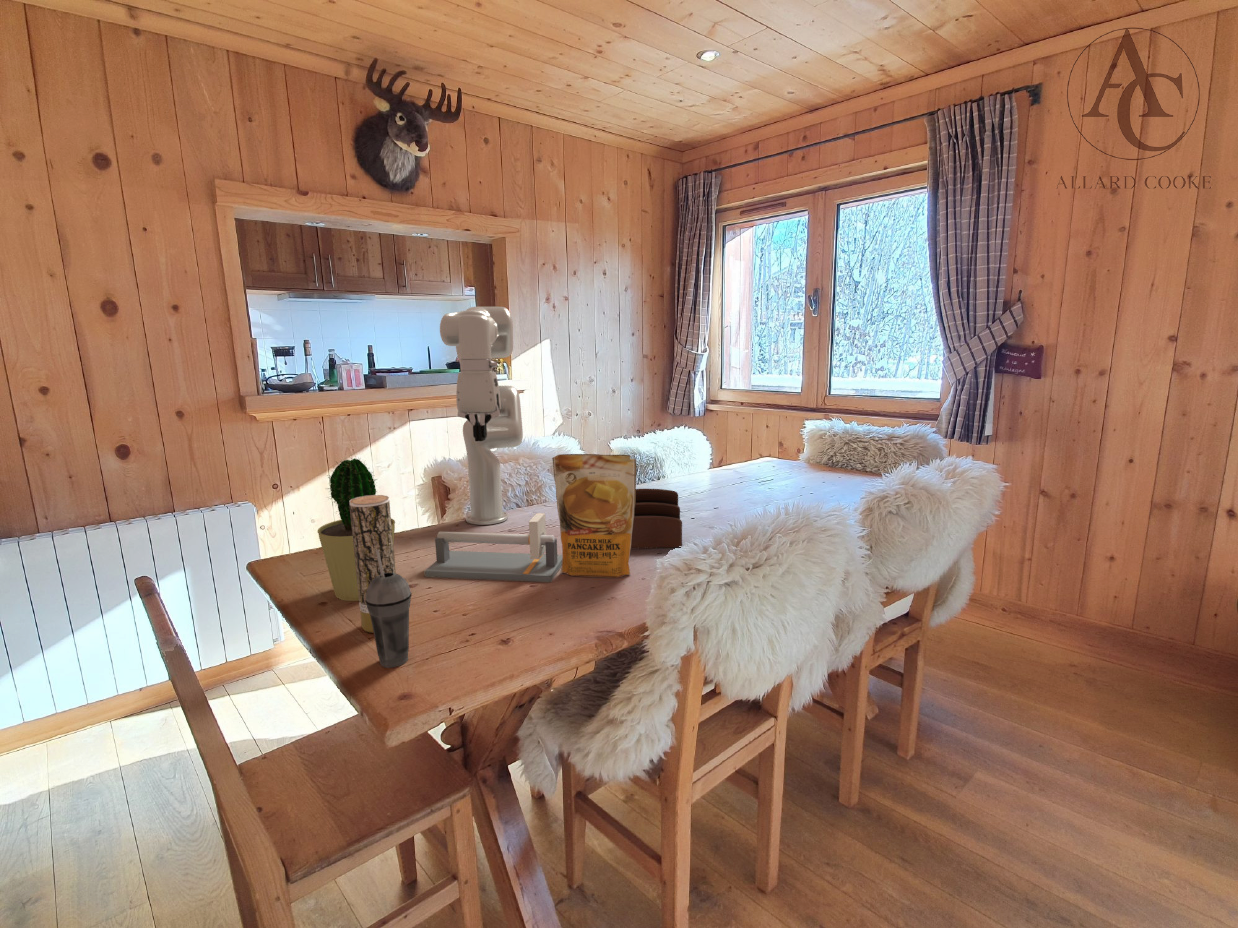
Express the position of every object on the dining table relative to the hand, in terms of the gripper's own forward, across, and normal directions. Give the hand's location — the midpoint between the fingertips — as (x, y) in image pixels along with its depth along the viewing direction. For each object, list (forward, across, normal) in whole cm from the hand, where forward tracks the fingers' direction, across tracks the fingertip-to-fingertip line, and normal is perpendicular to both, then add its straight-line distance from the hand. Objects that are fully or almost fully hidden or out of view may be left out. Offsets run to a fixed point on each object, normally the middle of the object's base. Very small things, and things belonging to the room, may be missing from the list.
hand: (480, 440), depth 153 cm
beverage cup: (+29, -4, +56) cm, 63 cm away
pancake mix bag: (+29, -31, +12) cm, 44 cm away
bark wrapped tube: (+29, +5, +44) cm, 53 cm away
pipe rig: (+29, -7, +12) cm, 32 cm away
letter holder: (+30, -40, -11) cm, 51 cm away
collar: (+25, -17, +12) cm, 33 cm away
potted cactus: (+29, +18, +28) cm, 44 cm away
